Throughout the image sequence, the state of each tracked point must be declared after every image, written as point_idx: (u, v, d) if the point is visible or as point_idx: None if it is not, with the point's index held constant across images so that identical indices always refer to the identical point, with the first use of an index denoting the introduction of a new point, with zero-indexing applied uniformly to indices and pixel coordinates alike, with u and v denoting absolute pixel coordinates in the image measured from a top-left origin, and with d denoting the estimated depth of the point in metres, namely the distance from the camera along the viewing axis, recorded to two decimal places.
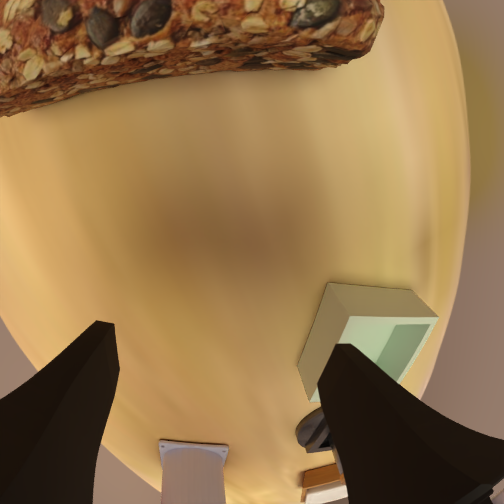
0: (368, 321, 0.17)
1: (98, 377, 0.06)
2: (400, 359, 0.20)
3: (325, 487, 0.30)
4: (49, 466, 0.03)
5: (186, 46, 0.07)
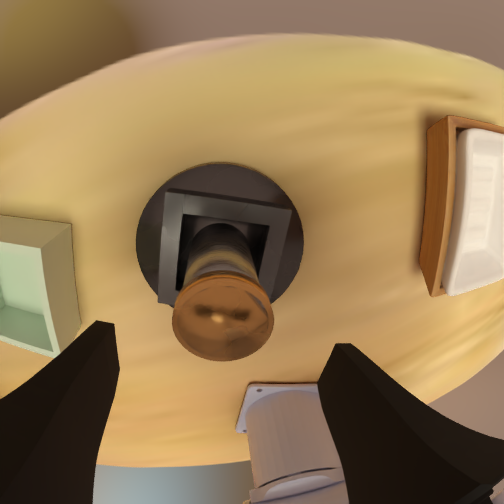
0: None
1: (98, 377, 0.06)
2: None
3: (450, 258, 0.16)
4: (49, 466, 0.03)
5: None
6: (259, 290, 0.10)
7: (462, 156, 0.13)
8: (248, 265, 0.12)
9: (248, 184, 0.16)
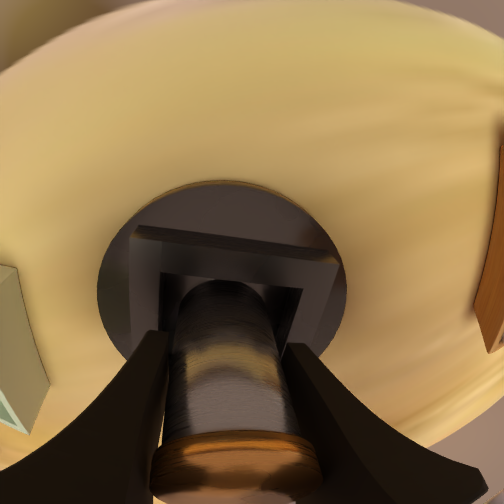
0: None
1: (159, 388, 0.07)
2: None
3: None
4: (136, 490, 0.03)
5: None
6: (305, 460, 0.04)
7: None
8: (276, 382, 0.07)
9: (268, 219, 0.10)
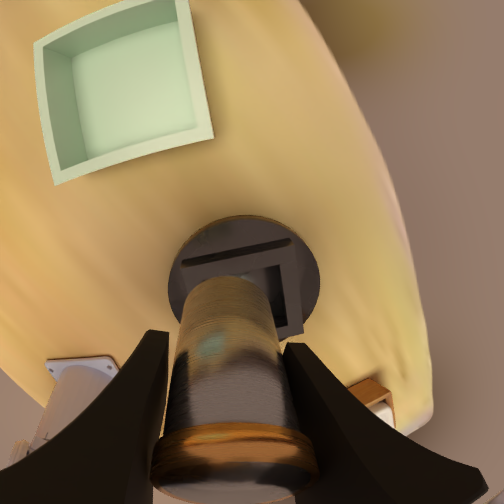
0: (57, 35, 0.08)
1: (159, 388, 0.07)
2: None
3: None
4: (135, 490, 0.03)
5: None
6: (300, 453, 0.05)
7: None
8: (275, 377, 0.07)
9: (307, 293, 0.19)
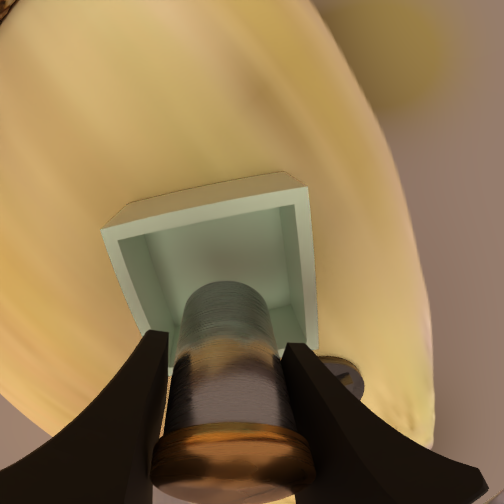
0: (136, 230, 0.11)
1: (159, 388, 0.07)
2: (298, 288, 0.14)
3: None
4: (135, 490, 0.03)
5: None
6: (289, 451, 0.05)
7: None
8: (267, 376, 0.07)
9: None
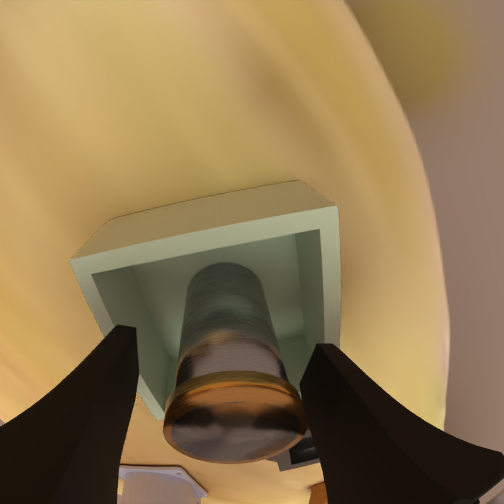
0: (113, 262, 0.08)
1: (123, 382, 0.06)
2: (316, 325, 0.11)
3: None
4: (83, 478, 0.03)
5: None
6: (283, 395, 0.06)
7: None
8: (263, 338, 0.08)
9: None
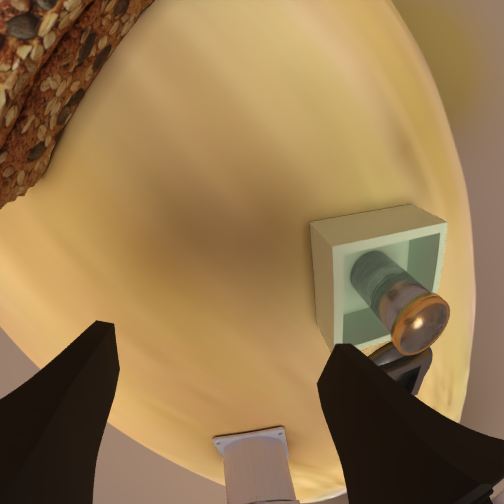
0: (358, 247, 0.15)
1: (98, 377, 0.06)
2: (424, 284, 0.18)
3: None
4: (49, 466, 0.03)
5: None
6: None
7: None
8: None
9: None
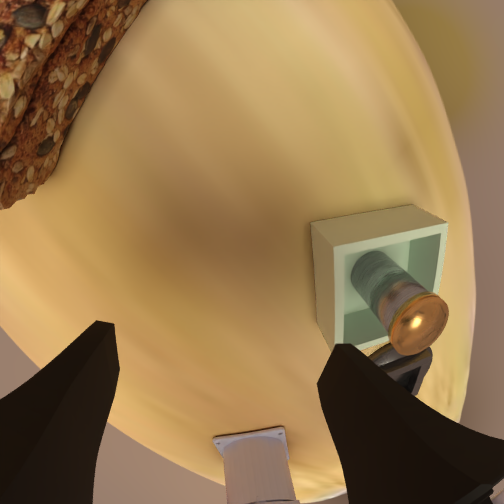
0: (359, 247, 0.15)
1: (98, 377, 0.06)
2: (425, 284, 0.18)
3: None
4: (49, 466, 0.03)
5: None
6: None
7: None
8: (420, 284, 0.15)
9: None
